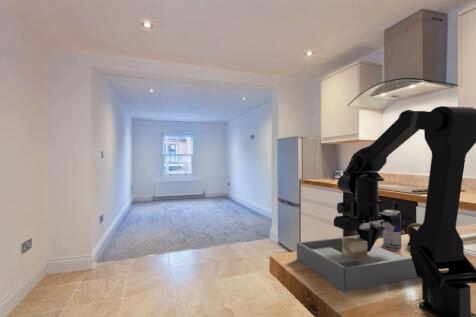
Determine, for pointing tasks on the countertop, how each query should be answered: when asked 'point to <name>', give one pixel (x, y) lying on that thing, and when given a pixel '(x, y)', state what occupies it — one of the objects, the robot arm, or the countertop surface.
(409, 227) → the potato
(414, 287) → the countertop surface
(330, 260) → the box
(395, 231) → the energy drink
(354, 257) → the birch block
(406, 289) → the countertop surface
